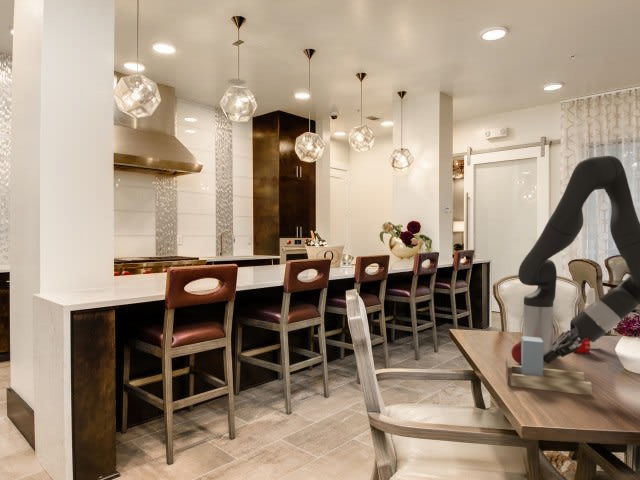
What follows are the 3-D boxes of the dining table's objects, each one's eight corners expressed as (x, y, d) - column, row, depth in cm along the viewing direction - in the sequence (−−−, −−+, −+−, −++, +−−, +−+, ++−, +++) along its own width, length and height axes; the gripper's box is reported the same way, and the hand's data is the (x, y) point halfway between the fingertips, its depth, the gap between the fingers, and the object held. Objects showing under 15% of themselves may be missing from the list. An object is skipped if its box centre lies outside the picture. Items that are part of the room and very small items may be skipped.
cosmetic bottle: (594, 349, 161) (595, 289, 161) (577, 346, 166) (578, 288, 166) (602, 347, 164) (603, 289, 164) (585, 344, 169) (586, 287, 169)
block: (540, 376, 125) (540, 337, 125) (542, 382, 120) (543, 342, 120) (520, 374, 127) (521, 336, 127) (522, 380, 121) (523, 340, 121)
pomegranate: (522, 368, 136) (523, 342, 136) (507, 363, 142) (507, 339, 142) (535, 366, 139) (535, 341, 139) (519, 361, 144) (519, 337, 144)
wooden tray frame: (583, 382, 123) (583, 365, 123) (591, 395, 114) (591, 376, 114) (505, 374, 130) (506, 357, 130) (507, 385, 121) (507, 367, 121)
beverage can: (573, 353, 156) (573, 319, 156) (567, 348, 162) (568, 316, 162) (592, 354, 154) (593, 320, 154) (586, 350, 160) (587, 317, 160)
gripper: (579, 306, 125) (531, 345, 129) (590, 314, 113) (536, 356, 117) (600, 326, 123) (550, 365, 128) (613, 336, 111) (558, 379, 115)
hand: (544, 361), depth 122 cm, fingers closed
